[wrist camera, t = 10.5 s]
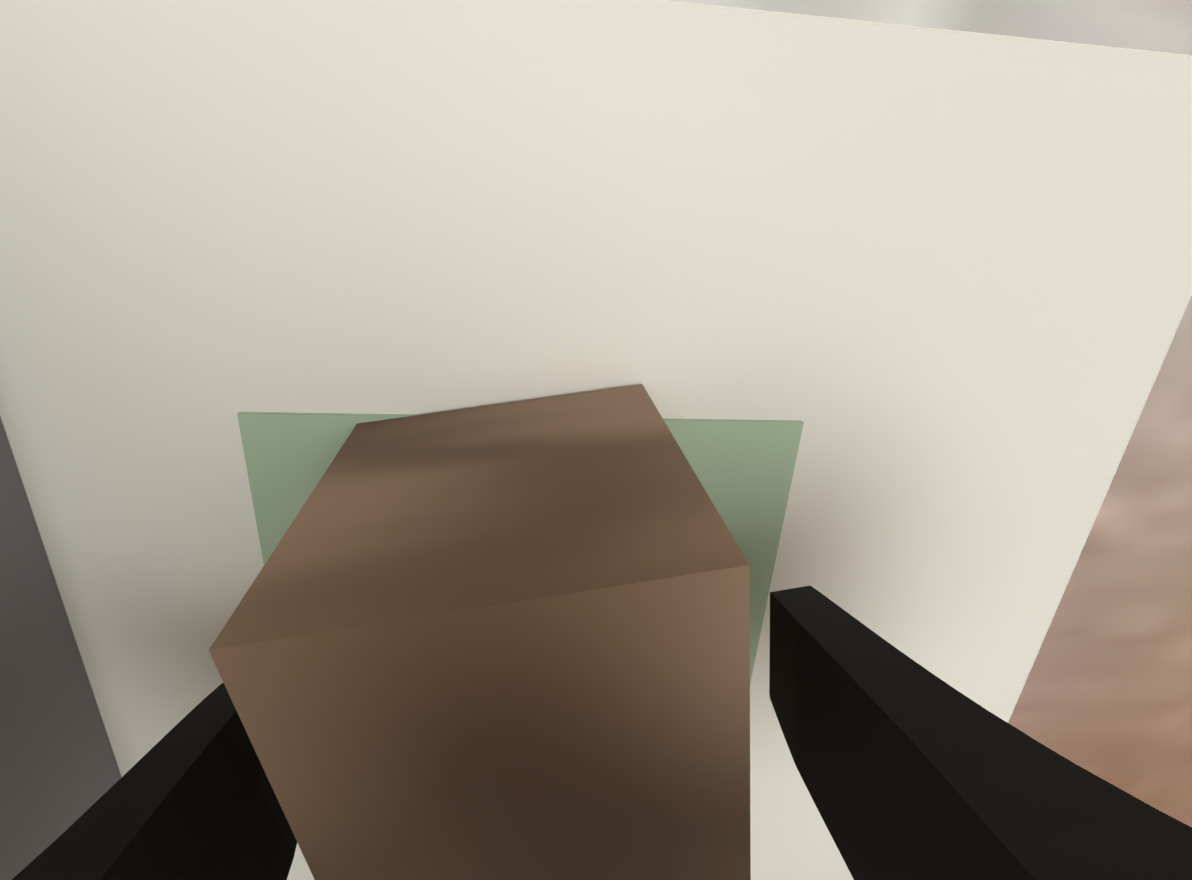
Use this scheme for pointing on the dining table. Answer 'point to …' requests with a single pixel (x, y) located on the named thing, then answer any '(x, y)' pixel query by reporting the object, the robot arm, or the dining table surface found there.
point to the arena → (560, 316)
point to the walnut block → (504, 653)
